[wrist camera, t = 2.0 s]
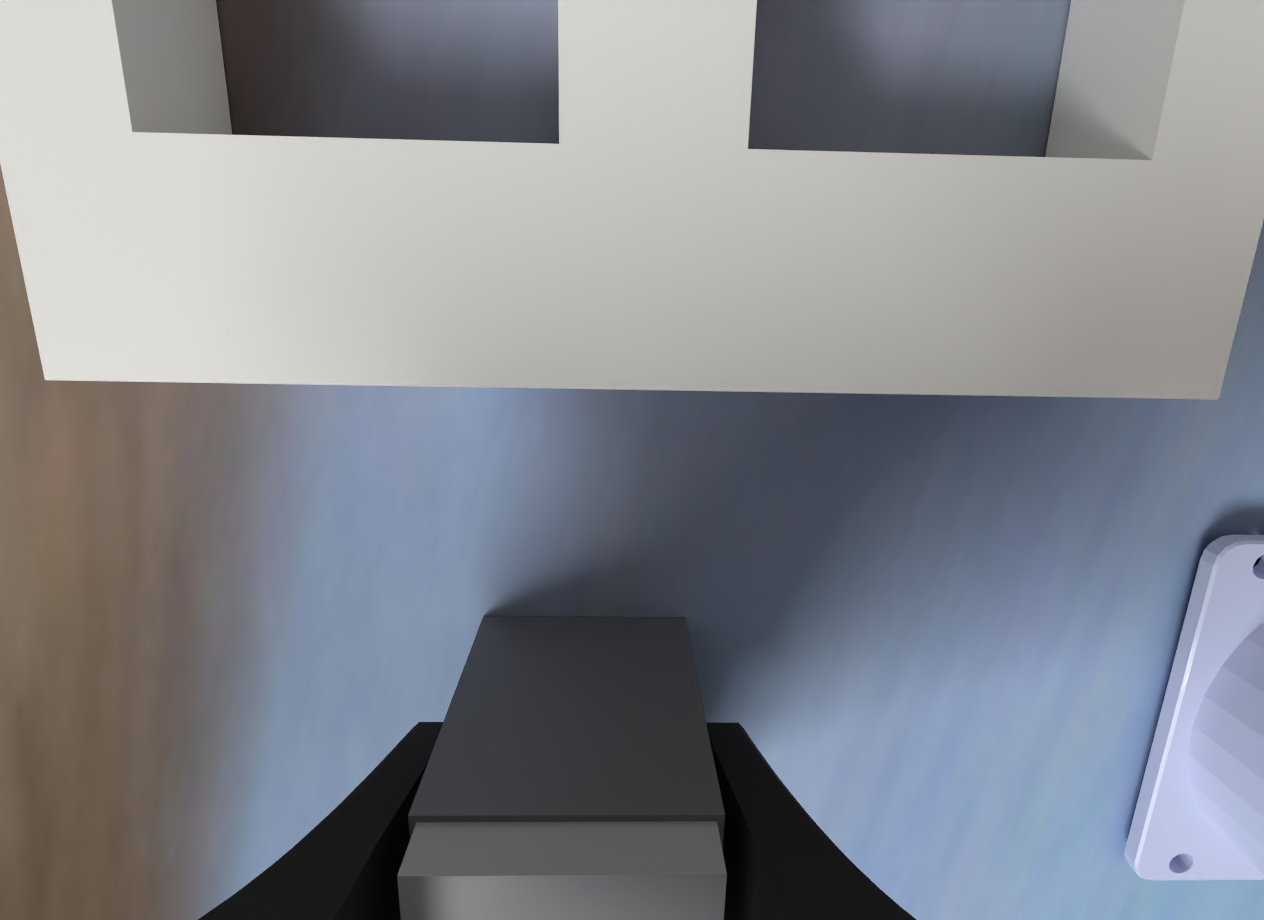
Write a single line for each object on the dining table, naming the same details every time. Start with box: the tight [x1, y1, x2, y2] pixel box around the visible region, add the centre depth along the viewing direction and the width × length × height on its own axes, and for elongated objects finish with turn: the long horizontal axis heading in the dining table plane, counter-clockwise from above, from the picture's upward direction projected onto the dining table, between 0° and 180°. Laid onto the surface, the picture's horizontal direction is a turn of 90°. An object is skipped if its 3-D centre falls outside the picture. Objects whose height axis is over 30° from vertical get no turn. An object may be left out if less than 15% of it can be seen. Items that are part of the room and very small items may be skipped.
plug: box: [397, 616, 727, 920], centre depth 11 cm, size 4×4×6 cm
